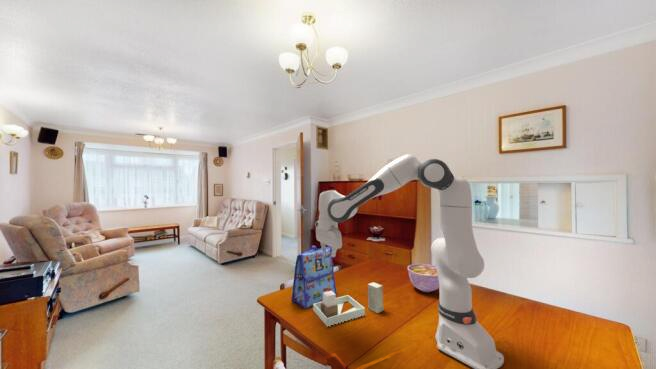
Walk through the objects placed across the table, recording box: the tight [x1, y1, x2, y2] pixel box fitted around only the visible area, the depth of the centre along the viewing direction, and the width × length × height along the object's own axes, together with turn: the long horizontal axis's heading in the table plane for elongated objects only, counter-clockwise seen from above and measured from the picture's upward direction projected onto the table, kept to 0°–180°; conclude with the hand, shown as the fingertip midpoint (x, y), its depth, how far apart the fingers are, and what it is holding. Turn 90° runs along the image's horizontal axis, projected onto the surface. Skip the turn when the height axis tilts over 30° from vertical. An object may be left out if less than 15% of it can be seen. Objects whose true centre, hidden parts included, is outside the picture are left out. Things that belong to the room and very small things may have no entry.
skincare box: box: [367, 281, 384, 314], centre depth 119 cm, size 6×4×12 cm
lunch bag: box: [291, 245, 338, 309], centre depth 131 cm, size 22×14×29 cm, turn 131°
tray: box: [312, 294, 366, 328], centre depth 116 cm, size 15×20×4 cm
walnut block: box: [321, 302, 338, 318], centre depth 113 cm, size 6×6×5 cm
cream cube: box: [323, 291, 337, 307], centre depth 113 cm, size 4×4×5 cm
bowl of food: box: [407, 263, 439, 293], centre depth 141 cm, size 20×20×12 cm
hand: (328, 254), depth 113 cm, fingers open, 8 cm apart
